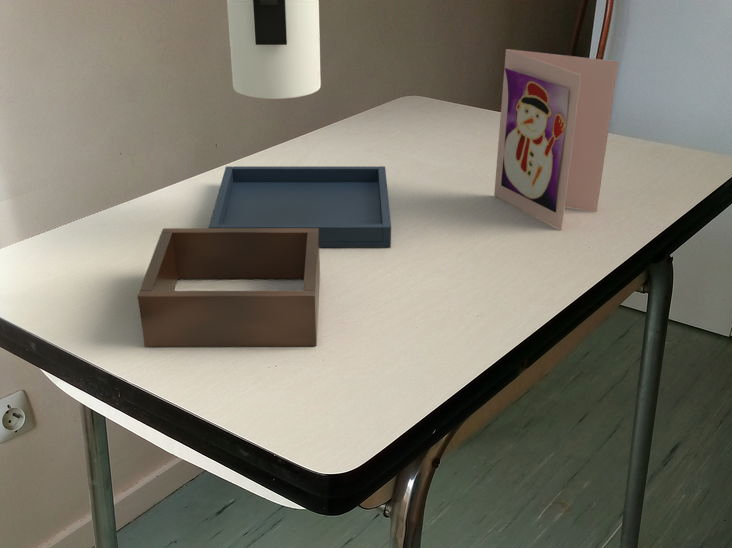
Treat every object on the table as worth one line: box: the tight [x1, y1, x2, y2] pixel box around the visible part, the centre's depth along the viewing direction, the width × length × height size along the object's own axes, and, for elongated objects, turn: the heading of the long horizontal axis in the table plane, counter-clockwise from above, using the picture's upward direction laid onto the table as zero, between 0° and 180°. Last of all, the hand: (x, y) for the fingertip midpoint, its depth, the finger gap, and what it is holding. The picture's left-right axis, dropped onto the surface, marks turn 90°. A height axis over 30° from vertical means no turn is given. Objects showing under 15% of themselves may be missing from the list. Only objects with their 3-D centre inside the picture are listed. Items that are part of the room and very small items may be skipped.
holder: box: [136, 227, 321, 348], centre depth 86 cm, size 14×14×4 cm
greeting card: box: [493, 48, 619, 231], centre depth 103 cm, size 11×7×15 cm, turn 31°
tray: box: [208, 165, 392, 249], centre depth 105 cm, size 18×18×2 cm
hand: (274, 32), depth 92 cm, fingers closed on cup, 8 cm apart
